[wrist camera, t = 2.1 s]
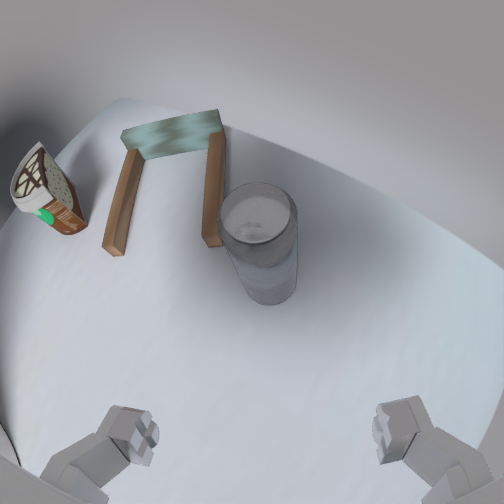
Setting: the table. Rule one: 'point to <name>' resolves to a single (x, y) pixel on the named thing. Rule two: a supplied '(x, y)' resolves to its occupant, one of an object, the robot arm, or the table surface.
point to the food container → (47, 192)
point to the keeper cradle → (162, 144)
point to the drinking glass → (261, 240)
